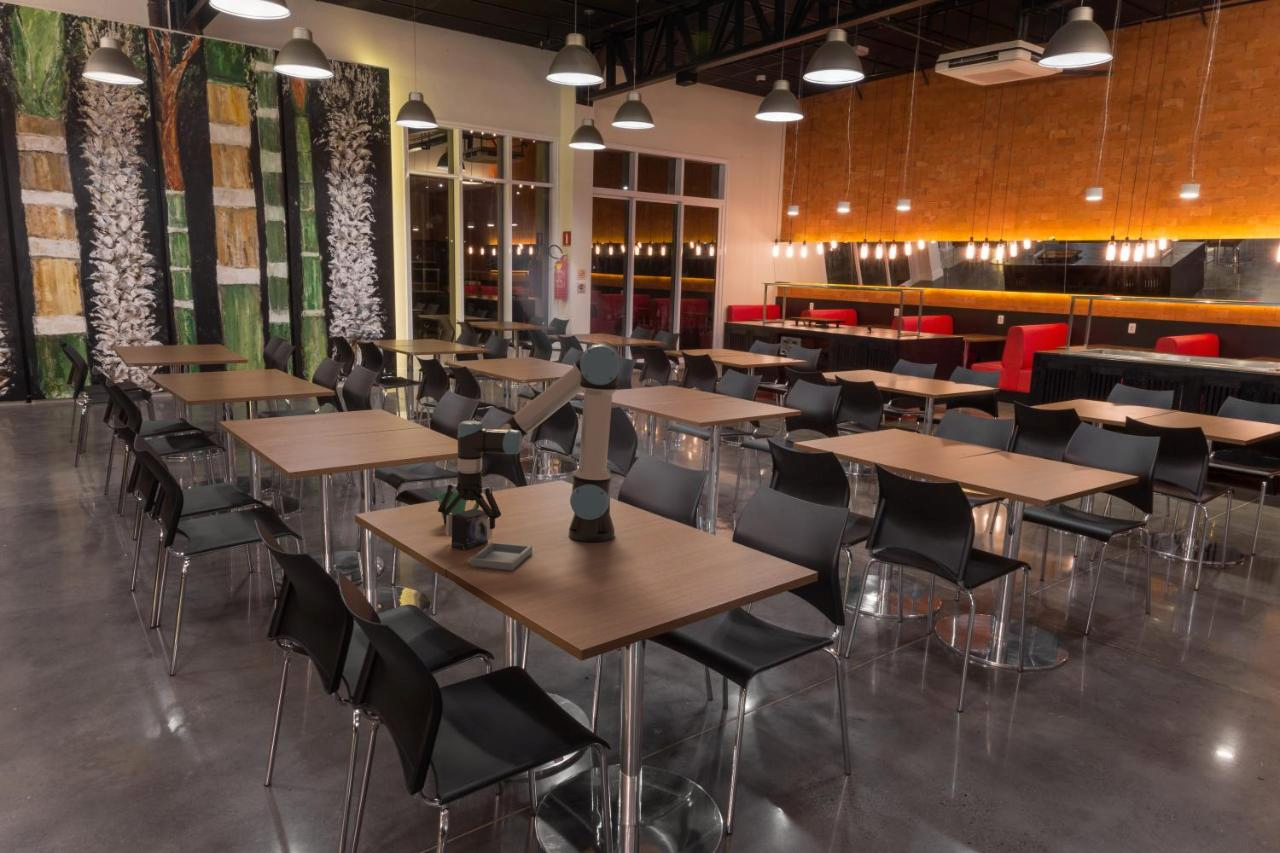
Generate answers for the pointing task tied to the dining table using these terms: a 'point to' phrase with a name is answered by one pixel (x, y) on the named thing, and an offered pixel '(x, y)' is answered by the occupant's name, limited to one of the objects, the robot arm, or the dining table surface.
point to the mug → (459, 507)
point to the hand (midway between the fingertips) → (469, 536)
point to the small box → (469, 529)
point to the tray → (501, 556)
